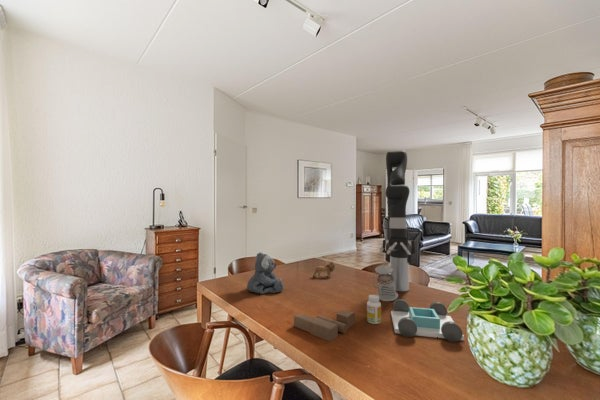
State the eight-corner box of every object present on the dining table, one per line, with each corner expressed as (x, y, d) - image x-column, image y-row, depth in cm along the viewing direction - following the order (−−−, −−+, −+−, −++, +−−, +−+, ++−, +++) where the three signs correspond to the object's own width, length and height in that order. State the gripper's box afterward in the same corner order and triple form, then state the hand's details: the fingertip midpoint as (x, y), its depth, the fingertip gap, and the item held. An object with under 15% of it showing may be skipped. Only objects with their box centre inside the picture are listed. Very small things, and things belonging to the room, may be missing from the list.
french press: (399, 300, 124) (393, 251, 118) (374, 302, 126) (367, 253, 121) (396, 288, 133) (390, 242, 128) (372, 290, 136) (365, 244, 130)
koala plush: (285, 292, 138) (284, 254, 138) (250, 297, 132) (250, 257, 132) (275, 283, 154) (275, 249, 154) (244, 287, 148) (243, 251, 148)
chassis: (390, 312, 113) (390, 298, 113) (448, 317, 108) (448, 302, 108) (395, 335, 94) (395, 318, 94) (466, 343, 88) (466, 325, 88)
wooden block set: (332, 327, 90) (292, 313, 101) (333, 344, 90) (292, 328, 101) (357, 310, 103) (318, 299, 114) (357, 325, 103) (319, 312, 114)
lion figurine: (333, 274, 170) (333, 260, 170) (336, 277, 165) (336, 262, 165) (311, 276, 167) (311, 262, 167) (313, 279, 162) (313, 264, 162)
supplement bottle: (378, 317, 108) (378, 293, 108) (383, 324, 103) (383, 298, 103) (365, 318, 108) (365, 294, 108) (369, 324, 102) (369, 299, 102)
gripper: (412, 227, 128) (413, 262, 127) (381, 226, 131) (381, 260, 130) (415, 228, 120) (416, 264, 119) (382, 227, 124) (382, 263, 123)
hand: (398, 262), depth 125 cm, fingers open, 8 cm apart
